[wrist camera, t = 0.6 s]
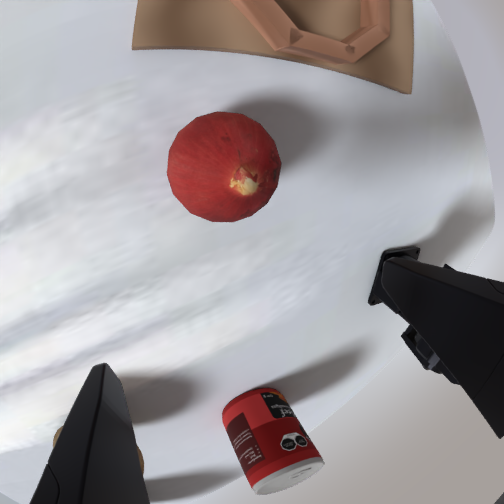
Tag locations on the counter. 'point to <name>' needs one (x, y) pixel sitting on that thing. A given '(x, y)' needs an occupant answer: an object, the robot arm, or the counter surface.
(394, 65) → the onion holder
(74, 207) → the counter surface
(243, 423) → the canned food
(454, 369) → the robot arm
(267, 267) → the counter surface
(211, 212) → the onion
